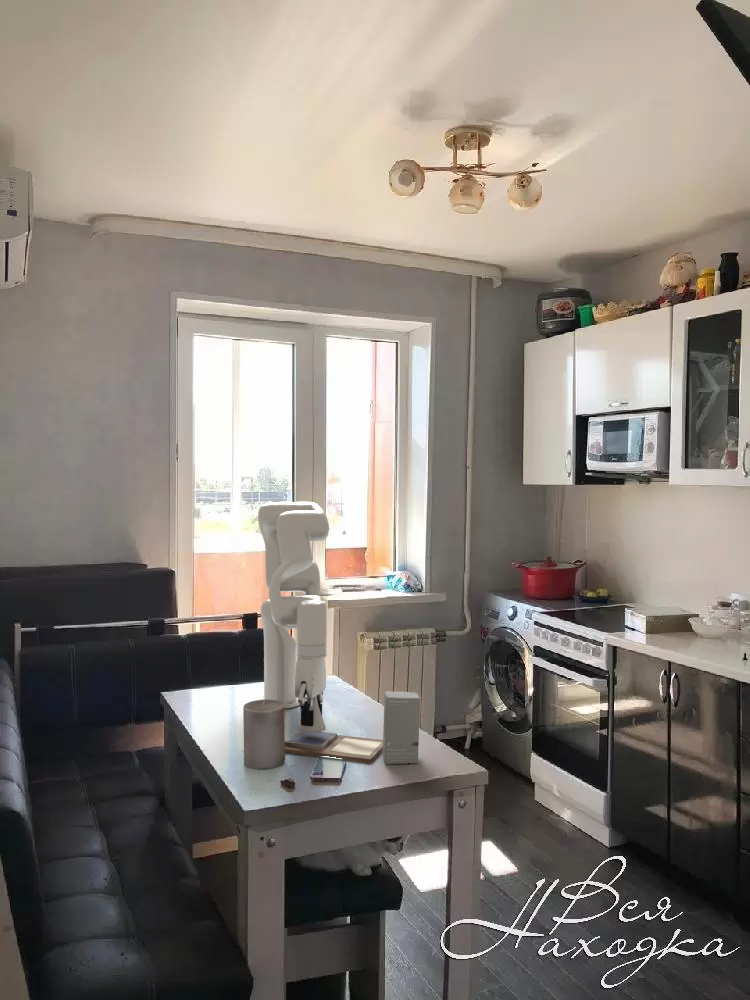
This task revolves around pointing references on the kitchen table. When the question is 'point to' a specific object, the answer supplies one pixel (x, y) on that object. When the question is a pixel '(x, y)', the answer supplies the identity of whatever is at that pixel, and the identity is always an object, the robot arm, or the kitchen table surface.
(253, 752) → the pillar candle
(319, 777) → the kitchen table surface
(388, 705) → the skincare box
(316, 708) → the flask
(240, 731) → the kitchen table surface
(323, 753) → the board
